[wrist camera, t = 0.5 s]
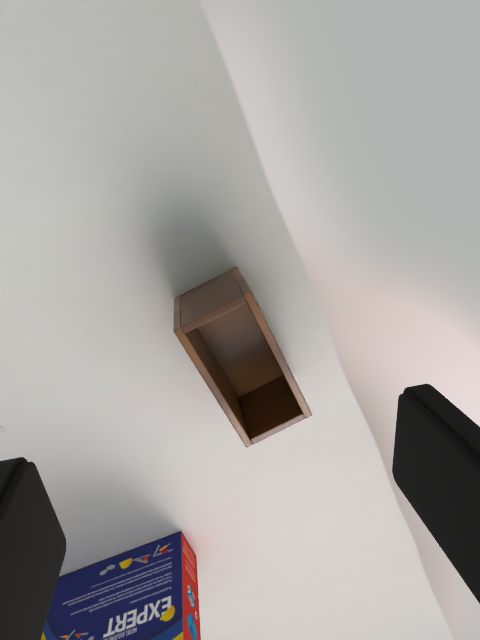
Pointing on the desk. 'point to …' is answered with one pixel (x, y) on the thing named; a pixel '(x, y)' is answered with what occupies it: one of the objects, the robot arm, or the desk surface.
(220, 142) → the desk surface
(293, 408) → the wooden cubby shelf
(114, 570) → the toy box
